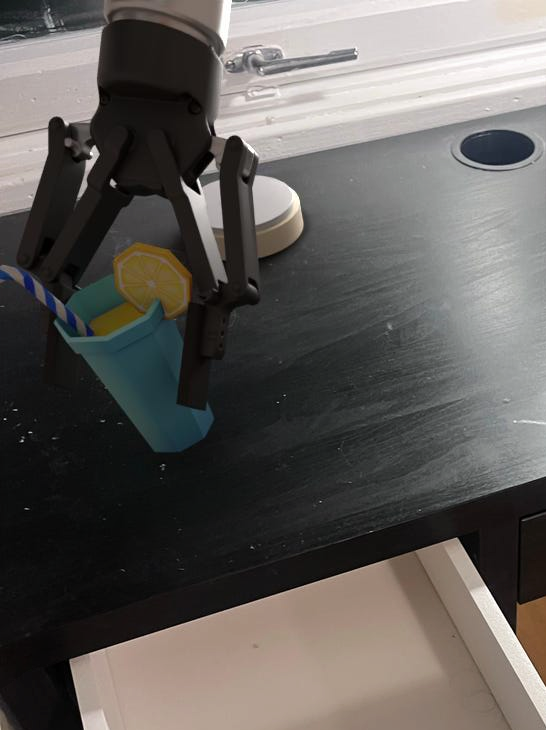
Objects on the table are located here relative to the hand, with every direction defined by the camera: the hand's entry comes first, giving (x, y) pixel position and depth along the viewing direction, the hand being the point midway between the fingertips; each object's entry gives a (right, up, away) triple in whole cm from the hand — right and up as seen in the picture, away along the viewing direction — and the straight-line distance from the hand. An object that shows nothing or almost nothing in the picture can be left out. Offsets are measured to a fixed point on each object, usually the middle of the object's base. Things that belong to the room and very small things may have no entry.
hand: (124, 397), depth 66 cm
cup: (+1, -1, +6) cm, 7 cm away
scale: (+1, +23, +29) cm, 37 cm away
